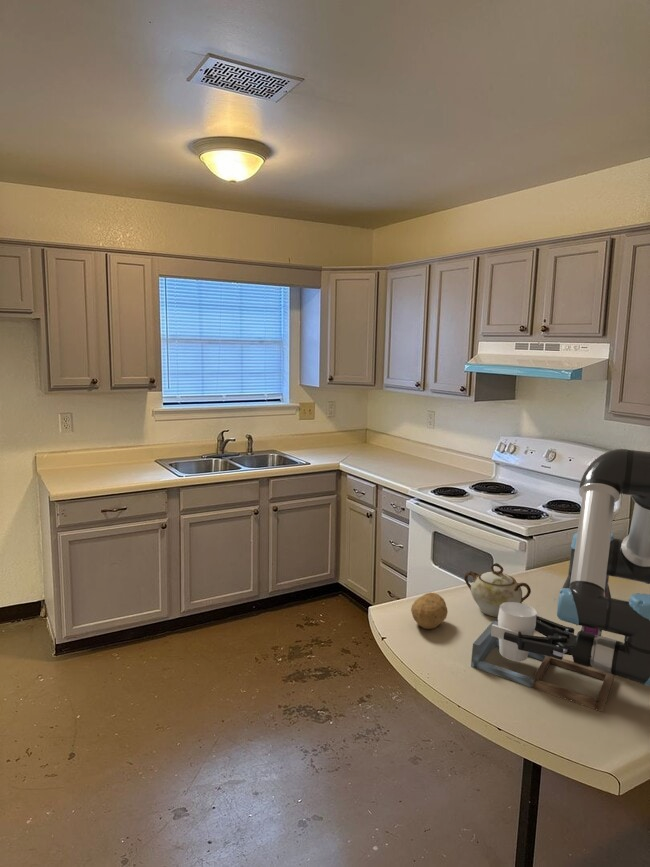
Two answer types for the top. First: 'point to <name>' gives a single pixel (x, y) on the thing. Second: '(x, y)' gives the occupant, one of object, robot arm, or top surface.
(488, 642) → the bay frame
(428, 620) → the potato
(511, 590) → the sugar bowl
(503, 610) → the cup
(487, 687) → the top surface
